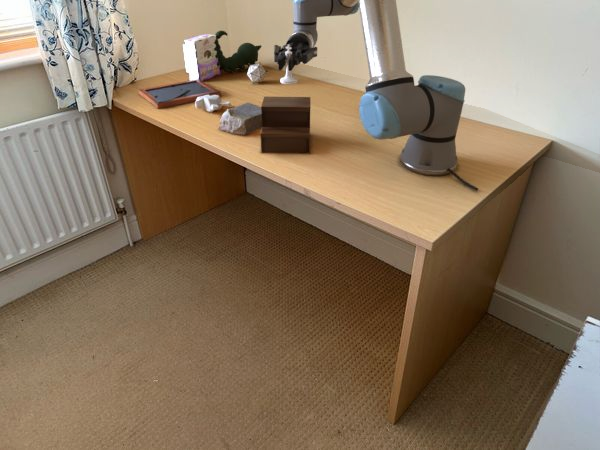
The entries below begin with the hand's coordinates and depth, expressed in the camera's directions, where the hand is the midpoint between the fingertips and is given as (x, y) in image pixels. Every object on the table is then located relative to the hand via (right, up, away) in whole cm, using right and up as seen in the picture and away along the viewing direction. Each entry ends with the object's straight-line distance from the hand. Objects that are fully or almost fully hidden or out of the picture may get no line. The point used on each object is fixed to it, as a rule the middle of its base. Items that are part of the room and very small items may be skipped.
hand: (284, 65), depth 115 cm
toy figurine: (-24, +28, +82) cm, 90 cm away
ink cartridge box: (-42, +26, +80) cm, 94 cm away
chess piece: (+1, -2, +8) cm, 8 cm away
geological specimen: (-14, -10, +27) cm, 32 cm away
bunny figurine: (-27, -2, +40) cm, 48 cm away
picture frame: (-43, +8, +53) cm, 69 cm away
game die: (-14, +17, +67) cm, 70 cm away
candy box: (-37, +21, +73) cm, 84 cm away
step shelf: (0, -18, +16) cm, 24 cm away
